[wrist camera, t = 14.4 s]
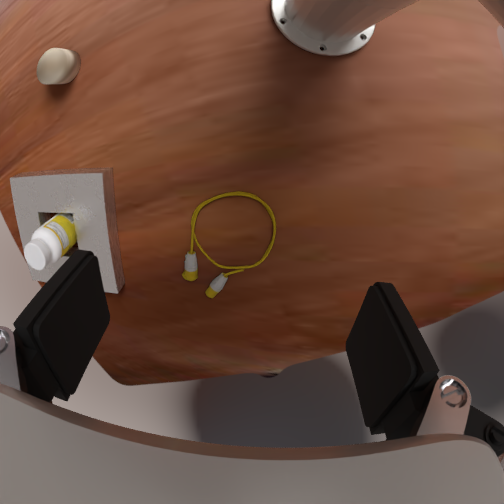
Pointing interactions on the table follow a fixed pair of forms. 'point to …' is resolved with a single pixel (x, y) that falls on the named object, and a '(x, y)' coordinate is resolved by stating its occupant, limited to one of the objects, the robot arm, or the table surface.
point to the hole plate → (84, 213)
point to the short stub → (58, 66)
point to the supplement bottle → (51, 241)
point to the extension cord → (191, 259)
